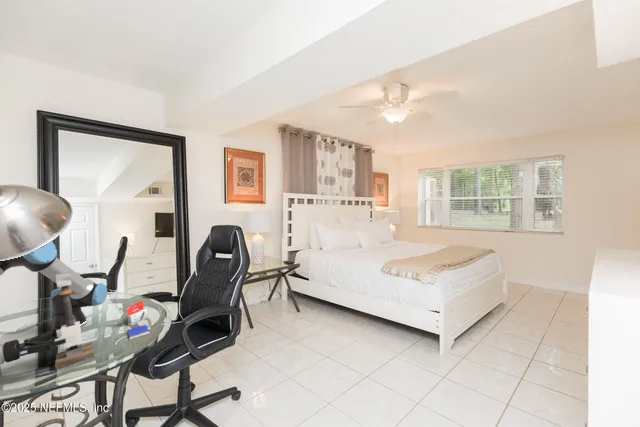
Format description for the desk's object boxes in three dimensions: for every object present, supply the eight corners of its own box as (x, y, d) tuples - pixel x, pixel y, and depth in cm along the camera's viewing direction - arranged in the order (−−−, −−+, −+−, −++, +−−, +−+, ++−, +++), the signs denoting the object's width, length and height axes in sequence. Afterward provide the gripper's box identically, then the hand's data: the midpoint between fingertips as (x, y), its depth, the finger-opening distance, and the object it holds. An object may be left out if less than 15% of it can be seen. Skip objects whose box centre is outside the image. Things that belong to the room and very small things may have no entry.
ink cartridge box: (148, 317, 168) (145, 300, 167) (132, 325, 157) (129, 307, 156) (144, 317, 168) (142, 300, 168) (128, 325, 157) (125, 307, 157)
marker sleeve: (64, 344, 125) (61, 326, 125) (82, 339, 129) (79, 321, 129) (63, 348, 121) (60, 329, 121) (82, 343, 125) (79, 324, 124)
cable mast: (57, 358, 127) (44, 275, 125) (92, 346, 134) (80, 268, 133) (55, 369, 116) (41, 279, 115) (93, 357, 124) (81, 272, 122)
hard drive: (149, 330, 143) (146, 324, 153) (129, 336, 139) (127, 329, 149) (149, 334, 143) (146, 327, 153) (129, 340, 139) (128, 332, 149)
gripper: (11, 352, 122) (77, 333, 135) (-1, 375, 103) (77, 350, 116) (8, 334, 122) (75, 317, 135) (-4, 353, 102) (75, 331, 116)
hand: (76, 332), depth 126 cm, fingers open, 13 cm apart
